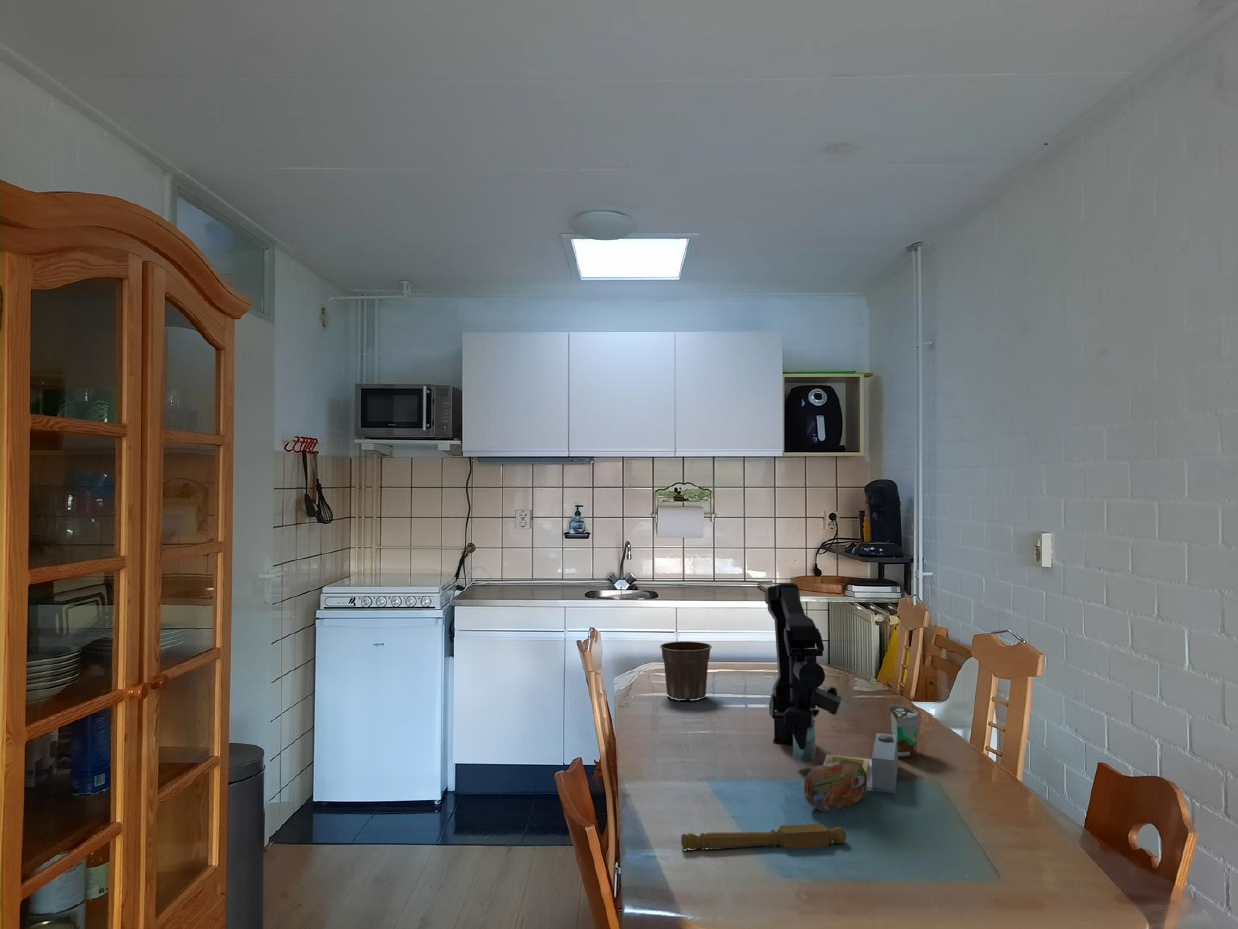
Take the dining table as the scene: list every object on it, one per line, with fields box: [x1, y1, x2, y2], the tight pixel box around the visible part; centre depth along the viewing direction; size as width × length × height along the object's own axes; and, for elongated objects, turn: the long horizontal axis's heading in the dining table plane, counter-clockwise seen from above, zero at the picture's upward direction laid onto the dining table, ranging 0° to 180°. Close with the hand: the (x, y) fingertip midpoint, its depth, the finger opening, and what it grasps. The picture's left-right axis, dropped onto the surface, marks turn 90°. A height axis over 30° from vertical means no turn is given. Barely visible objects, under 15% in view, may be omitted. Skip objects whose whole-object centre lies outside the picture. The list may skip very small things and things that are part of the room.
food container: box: [889, 704, 921, 760], centre depth 187 cm, size 12×6×10 cm, turn 168°
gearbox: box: [822, 732, 899, 795], centre depth 173 cm, size 16×18×8 cm
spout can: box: [792, 719, 817, 762], centre depth 178 cm, size 5×5×10 cm
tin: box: [803, 760, 867, 813], centre depth 157 cm, size 15×3×8 cm, turn 117°
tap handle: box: [680, 823, 847, 850], centre depth 139 cm, size 3×3×30 cm
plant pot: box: [659, 640, 712, 699], centre depth 243 cm, size 16×16×16 cm
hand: (804, 746), depth 178 cm, fingers closed on spout can, 5 cm apart
